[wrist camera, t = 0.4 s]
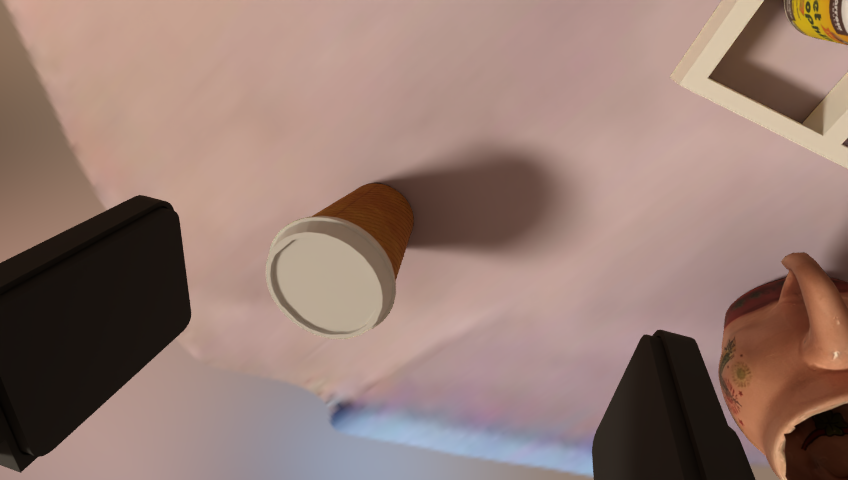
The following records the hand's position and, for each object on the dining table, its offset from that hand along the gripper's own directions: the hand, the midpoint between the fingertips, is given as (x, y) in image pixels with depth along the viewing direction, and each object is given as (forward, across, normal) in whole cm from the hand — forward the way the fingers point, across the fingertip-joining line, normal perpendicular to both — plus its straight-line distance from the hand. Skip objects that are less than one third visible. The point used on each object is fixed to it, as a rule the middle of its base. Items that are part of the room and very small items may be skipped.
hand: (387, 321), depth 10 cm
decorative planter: (+30, -24, +13) cm, 41 cm away
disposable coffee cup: (+30, +9, +14) cm, 34 cm away
